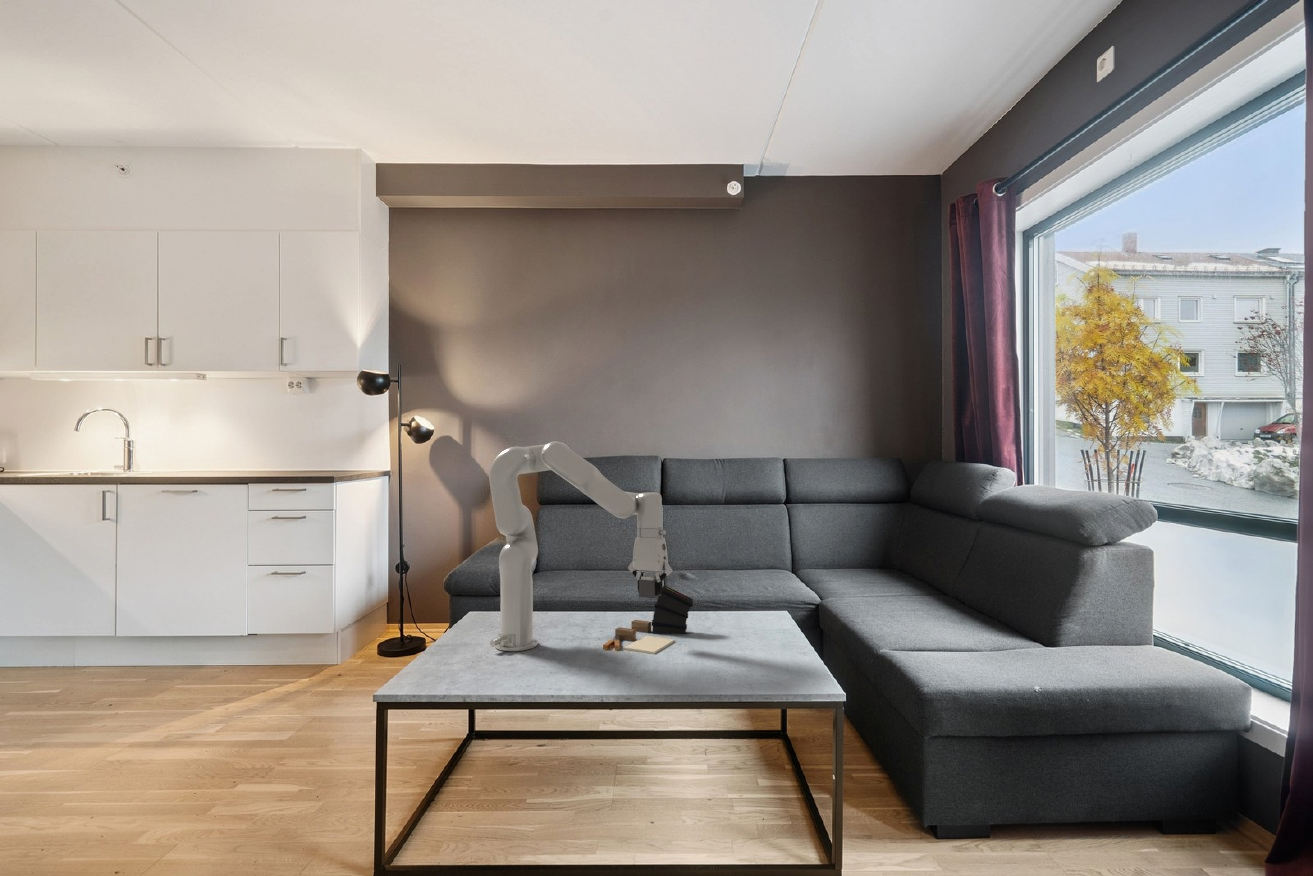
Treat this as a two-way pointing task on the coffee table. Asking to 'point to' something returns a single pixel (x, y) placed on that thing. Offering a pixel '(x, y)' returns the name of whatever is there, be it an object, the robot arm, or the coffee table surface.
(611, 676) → the coffee table surface
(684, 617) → the black layered block
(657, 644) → the mat
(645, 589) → the grey box
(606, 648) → the cutter
